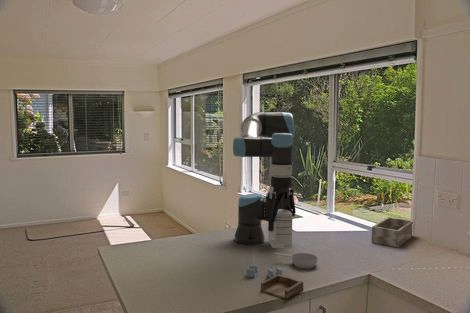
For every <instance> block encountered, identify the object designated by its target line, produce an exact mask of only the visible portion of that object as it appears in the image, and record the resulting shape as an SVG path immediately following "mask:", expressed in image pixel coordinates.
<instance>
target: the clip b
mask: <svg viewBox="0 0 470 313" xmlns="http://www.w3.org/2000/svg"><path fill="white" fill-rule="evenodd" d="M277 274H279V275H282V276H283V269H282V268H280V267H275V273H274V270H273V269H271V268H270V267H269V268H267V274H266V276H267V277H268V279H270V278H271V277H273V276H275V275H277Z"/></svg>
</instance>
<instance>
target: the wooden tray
mask: <svg viewBox="0 0 470 313" xmlns="http://www.w3.org/2000/svg"><path fill="white" fill-rule="evenodd" d="M303 290H304V281H303V280H299V279H296V278H293V277H292V278H291V277H289V276H284V275H283V274H282V275H279V274H277V275H275V276H273V277H271V278H267V279H266V280H264V281H262V282H260V292H262V293H264V294H265V293H266V294H268V295H271V296H275V297H278V298H280V299H282V300H283V299H284V300H285V301H286V300H287V301H288V300H290V299H291V298H293V297H294V296H296V295H297V294H299V293H300V292H302V291H303Z"/></svg>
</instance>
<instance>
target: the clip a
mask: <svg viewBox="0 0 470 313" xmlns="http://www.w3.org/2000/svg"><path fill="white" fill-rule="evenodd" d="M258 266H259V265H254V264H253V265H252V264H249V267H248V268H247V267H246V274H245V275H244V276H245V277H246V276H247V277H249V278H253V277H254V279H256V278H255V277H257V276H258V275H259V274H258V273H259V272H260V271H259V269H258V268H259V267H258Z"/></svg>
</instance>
